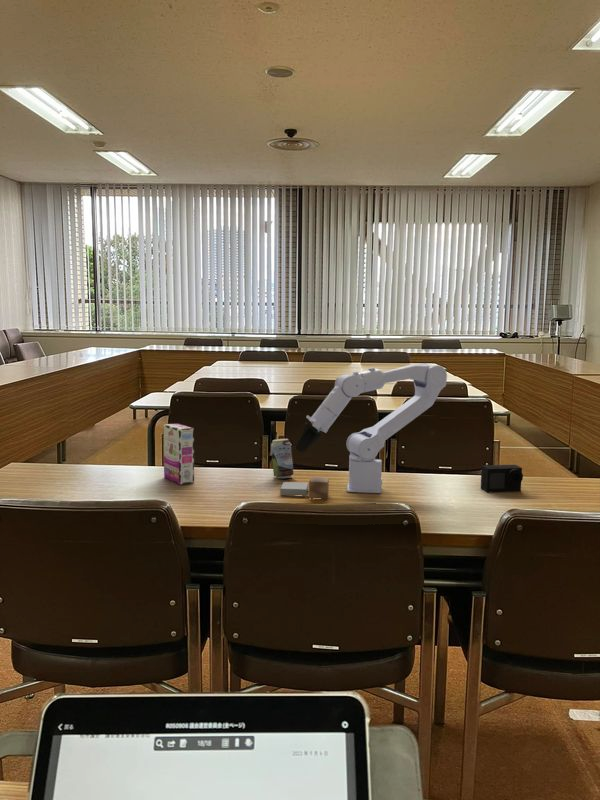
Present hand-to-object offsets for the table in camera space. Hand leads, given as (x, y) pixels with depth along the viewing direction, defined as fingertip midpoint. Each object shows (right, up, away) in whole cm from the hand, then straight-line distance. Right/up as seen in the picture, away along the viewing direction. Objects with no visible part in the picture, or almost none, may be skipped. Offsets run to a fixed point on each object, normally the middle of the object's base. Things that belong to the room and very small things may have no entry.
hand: (298, 450), depth 177 cm
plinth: (-1, -12, +3) cm, 12 cm away
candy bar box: (-36, -10, +15) cm, 40 cm away
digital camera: (+58, -12, +8) cm, 60 cm away
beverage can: (-5, -10, +19) cm, 22 cm away
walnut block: (+5, -13, -1) cm, 14 cm away
